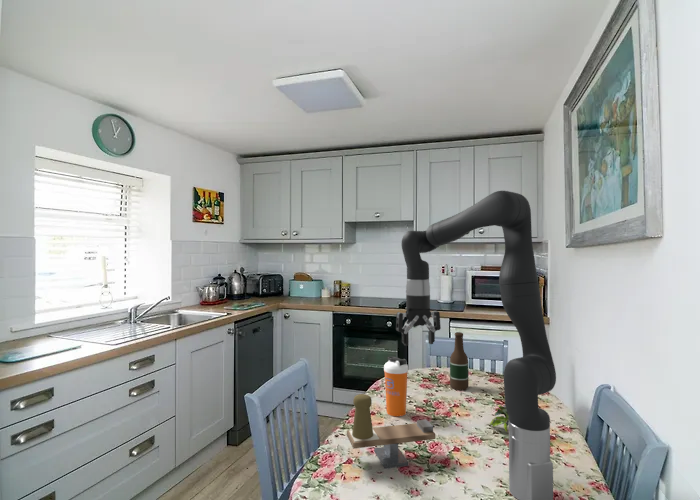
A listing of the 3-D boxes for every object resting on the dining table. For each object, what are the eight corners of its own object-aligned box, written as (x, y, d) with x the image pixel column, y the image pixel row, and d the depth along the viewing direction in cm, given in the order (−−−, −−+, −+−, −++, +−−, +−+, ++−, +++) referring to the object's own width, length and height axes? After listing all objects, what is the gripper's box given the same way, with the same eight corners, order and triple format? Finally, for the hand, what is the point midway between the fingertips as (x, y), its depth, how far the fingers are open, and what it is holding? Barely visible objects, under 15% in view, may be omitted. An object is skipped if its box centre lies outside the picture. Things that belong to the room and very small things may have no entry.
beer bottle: (449, 389, 174) (449, 333, 174) (450, 384, 181) (450, 330, 181) (468, 391, 171) (468, 334, 172) (468, 385, 179) (468, 331, 179)
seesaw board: (424, 427, 122) (424, 417, 123) (435, 439, 115) (435, 428, 115) (347, 435, 117) (346, 425, 117) (353, 448, 109) (353, 437, 109)
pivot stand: (408, 465, 112) (408, 445, 112) (384, 468, 110) (384, 448, 110) (396, 448, 122) (396, 430, 122) (374, 451, 120) (374, 432, 120)
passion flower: (516, 444, 136) (538, 417, 134) (512, 451, 126) (536, 423, 125) (488, 418, 141) (509, 392, 140) (482, 424, 132) (505, 396, 130)
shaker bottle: (392, 406, 155) (392, 354, 155) (413, 412, 149) (412, 358, 150) (379, 413, 148) (379, 359, 148) (400, 419, 143) (399, 363, 143)
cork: (371, 440, 111) (371, 399, 111) (350, 438, 112) (349, 398, 112) (374, 430, 117) (374, 392, 117) (354, 428, 118) (354, 391, 118)
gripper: (401, 295, 123) (401, 348, 123) (443, 294, 127) (444, 345, 126) (392, 293, 130) (393, 343, 130) (433, 291, 134) (433, 340, 134)
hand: (418, 344), depth 128 cm, fingers open, 8 cm apart
